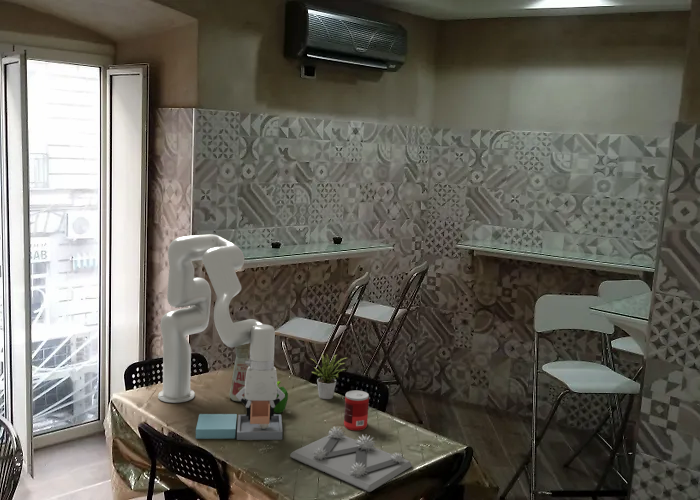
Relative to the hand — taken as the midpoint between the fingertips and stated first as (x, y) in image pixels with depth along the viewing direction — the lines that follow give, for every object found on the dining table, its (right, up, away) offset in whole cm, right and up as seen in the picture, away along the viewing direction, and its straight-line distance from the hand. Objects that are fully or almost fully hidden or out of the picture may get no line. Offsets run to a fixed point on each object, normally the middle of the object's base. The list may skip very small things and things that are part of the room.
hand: (259, 417), depth 214 cm
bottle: (-10, 0, +27) cm, 29 cm away
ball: (+1, -2, 0) cm, 3 cm away
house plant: (+21, -1, +32) cm, 39 cm away
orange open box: (0, -1, 0) cm, 1 cm away
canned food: (+31, -5, +8) cm, 32 cm away
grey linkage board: (+29, -9, -18) cm, 35 cm away
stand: (-14, -4, -1) cm, 14 cm away
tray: (0, -4, +1) cm, 4 cm away
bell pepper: (+3, -2, +17) cm, 17 cm away
